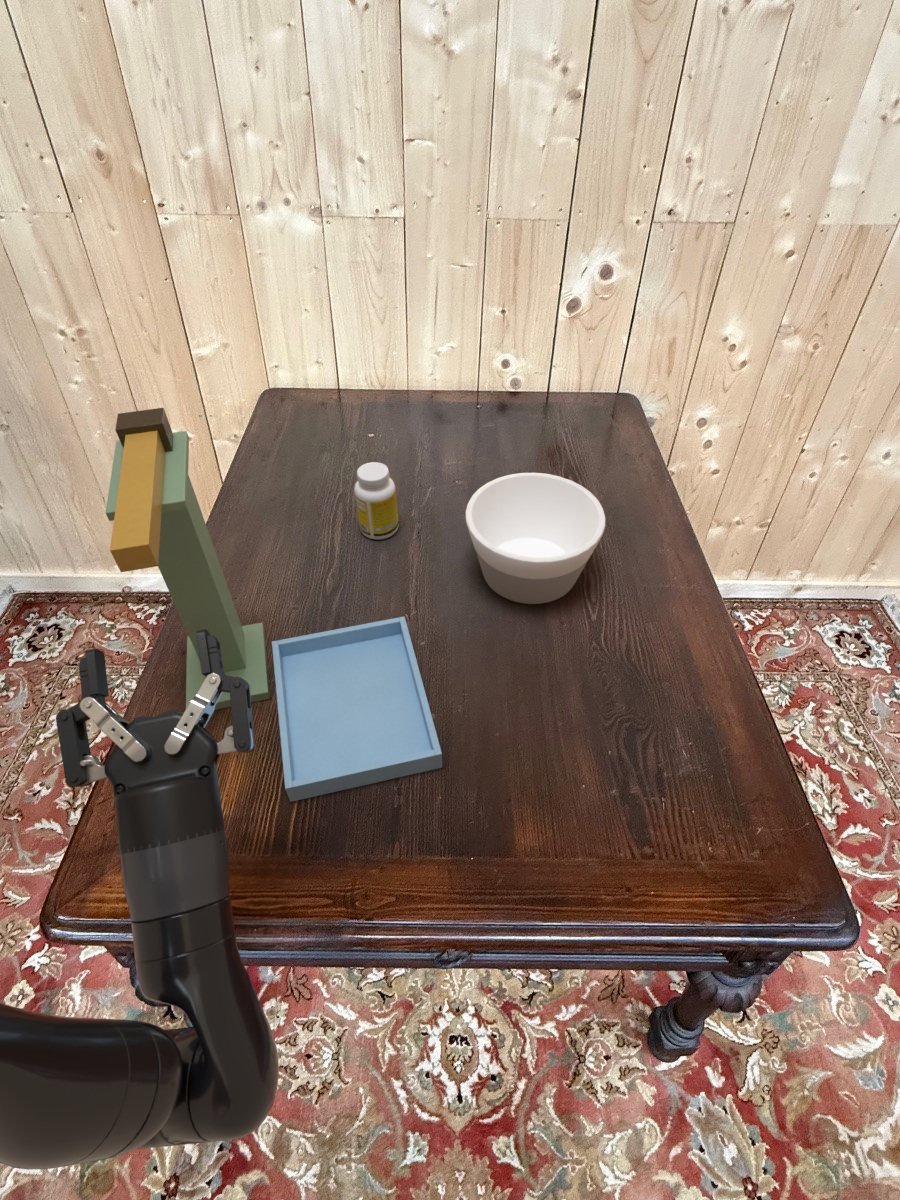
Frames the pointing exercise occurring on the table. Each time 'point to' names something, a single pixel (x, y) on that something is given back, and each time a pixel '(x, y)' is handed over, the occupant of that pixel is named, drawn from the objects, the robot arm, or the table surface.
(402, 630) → the tray
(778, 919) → the table surface
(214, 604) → the stand
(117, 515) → the brass bolt
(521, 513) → the bowl
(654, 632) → the table surface
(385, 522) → the pill bottle
